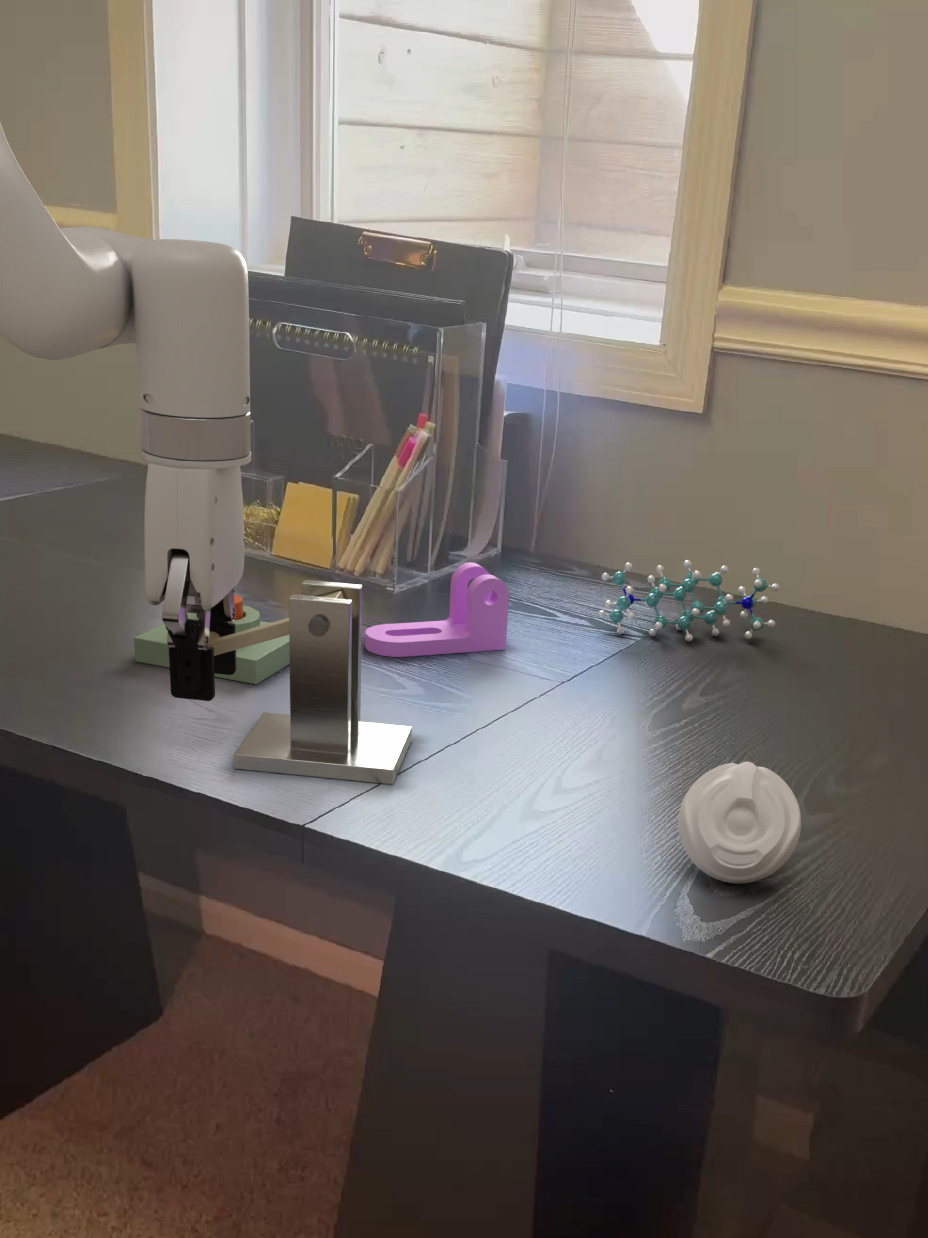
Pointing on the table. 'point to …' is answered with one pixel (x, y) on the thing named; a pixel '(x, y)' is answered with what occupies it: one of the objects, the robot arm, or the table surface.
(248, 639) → the lever
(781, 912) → the table surface
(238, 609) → the button
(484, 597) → the bracket
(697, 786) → the motion sensor
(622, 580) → the molecule model
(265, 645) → the button box
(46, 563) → the table surface
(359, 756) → the bracket
